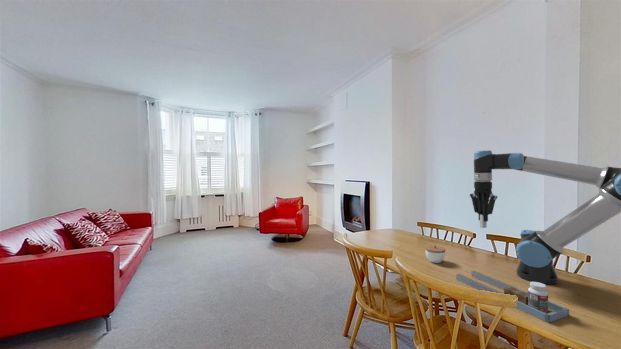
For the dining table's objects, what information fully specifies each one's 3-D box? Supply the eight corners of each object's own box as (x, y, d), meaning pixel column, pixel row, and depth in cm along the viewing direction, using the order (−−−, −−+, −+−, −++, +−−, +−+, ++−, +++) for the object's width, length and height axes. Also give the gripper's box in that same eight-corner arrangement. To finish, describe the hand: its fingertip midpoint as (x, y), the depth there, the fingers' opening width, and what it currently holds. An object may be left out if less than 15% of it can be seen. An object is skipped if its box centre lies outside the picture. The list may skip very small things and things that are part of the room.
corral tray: (498, 299, 104) (498, 293, 104) (517, 294, 107) (517, 288, 107) (548, 322, 88) (548, 315, 87) (569, 315, 91) (569, 309, 91)
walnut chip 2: (514, 302, 101) (514, 292, 101) (521, 300, 103) (520, 290, 103) (525, 307, 98) (525, 297, 98) (532, 305, 99) (532, 295, 99)
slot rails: (456, 279, 123) (456, 274, 123) (474, 275, 126) (474, 270, 126) (498, 299, 104) (498, 293, 104) (517, 293, 108) (517, 288, 107)
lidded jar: (448, 265, 141) (447, 248, 140) (427, 264, 143) (427, 247, 142) (442, 258, 151) (441, 243, 151) (423, 257, 153) (423, 242, 153)
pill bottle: (543, 315, 92) (543, 289, 92) (524, 307, 97) (524, 282, 97) (551, 311, 94) (551, 285, 94) (532, 304, 99) (532, 279, 99)
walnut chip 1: (504, 297, 105) (504, 288, 105) (510, 295, 107) (510, 286, 106) (514, 302, 101) (514, 292, 101) (521, 300, 103) (521, 290, 103)
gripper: (465, 180, 131) (466, 225, 132) (490, 182, 119) (490, 231, 119) (476, 180, 134) (476, 224, 134) (501, 181, 121) (501, 229, 122)
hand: (483, 227), depth 127 cm, fingers closed
